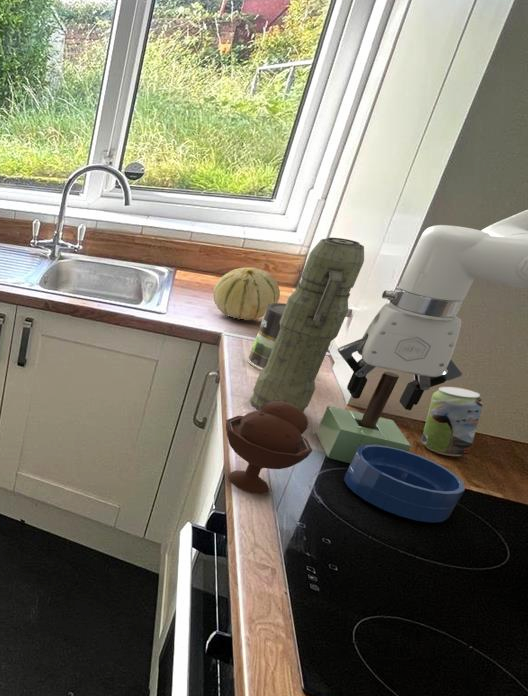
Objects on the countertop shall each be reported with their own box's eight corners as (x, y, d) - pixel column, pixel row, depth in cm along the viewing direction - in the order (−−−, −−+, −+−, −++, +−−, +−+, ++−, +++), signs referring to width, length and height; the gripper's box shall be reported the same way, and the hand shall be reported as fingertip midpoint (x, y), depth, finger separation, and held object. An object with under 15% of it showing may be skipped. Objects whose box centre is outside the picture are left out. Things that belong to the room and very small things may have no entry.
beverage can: (464, 465, 101) (498, 406, 97) (407, 446, 107) (436, 389, 102) (466, 452, 105) (499, 395, 101) (411, 434, 110) (439, 378, 106)
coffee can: (242, 365, 135) (263, 309, 130) (252, 353, 142) (271, 299, 137) (297, 382, 129) (321, 323, 123) (304, 368, 136) (327, 312, 130)
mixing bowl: (429, 490, 95) (445, 459, 93) (460, 537, 85) (480, 504, 83) (334, 465, 100) (348, 436, 98) (353, 507, 90) (369, 475, 88)
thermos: (295, 400, 121) (363, 237, 108) (310, 428, 111) (387, 252, 98) (244, 389, 125) (304, 230, 111) (254, 415, 115) (321, 244, 101)
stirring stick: (359, 451, 104) (397, 373, 98) (362, 457, 103) (401, 378, 97) (345, 448, 105) (381, 370, 99) (348, 454, 104) (385, 375, 97)
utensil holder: (379, 448, 106) (393, 420, 103) (396, 475, 98) (411, 445, 96) (315, 432, 110) (327, 405, 107) (327, 457, 102) (340, 429, 100)
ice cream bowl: (216, 454, 102) (244, 379, 96) (295, 485, 95) (330, 406, 89) (200, 480, 95) (229, 401, 89) (284, 516, 88) (321, 432, 82)
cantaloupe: (266, 316, 166) (285, 266, 161) (271, 332, 155) (292, 279, 149) (206, 304, 173) (221, 256, 168) (206, 319, 162) (223, 268, 156)
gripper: (362, 299, 94) (320, 396, 101) (512, 323, 86) (456, 426, 93) (349, 286, 100) (311, 378, 107) (488, 307, 92) (437, 405, 99)
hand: (379, 399), depth 100 cm, fingers open, 6 cm apart
